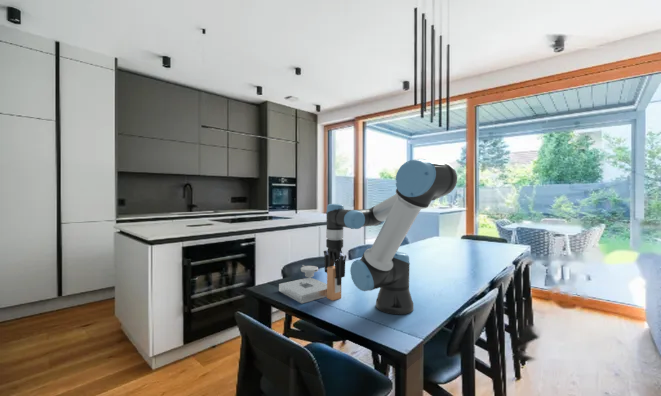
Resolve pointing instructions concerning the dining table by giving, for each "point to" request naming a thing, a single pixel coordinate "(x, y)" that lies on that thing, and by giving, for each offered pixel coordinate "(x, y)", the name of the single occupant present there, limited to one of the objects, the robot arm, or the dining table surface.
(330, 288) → the keyed peg
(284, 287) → the plate
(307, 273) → the showerhead
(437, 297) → the dining table surface
